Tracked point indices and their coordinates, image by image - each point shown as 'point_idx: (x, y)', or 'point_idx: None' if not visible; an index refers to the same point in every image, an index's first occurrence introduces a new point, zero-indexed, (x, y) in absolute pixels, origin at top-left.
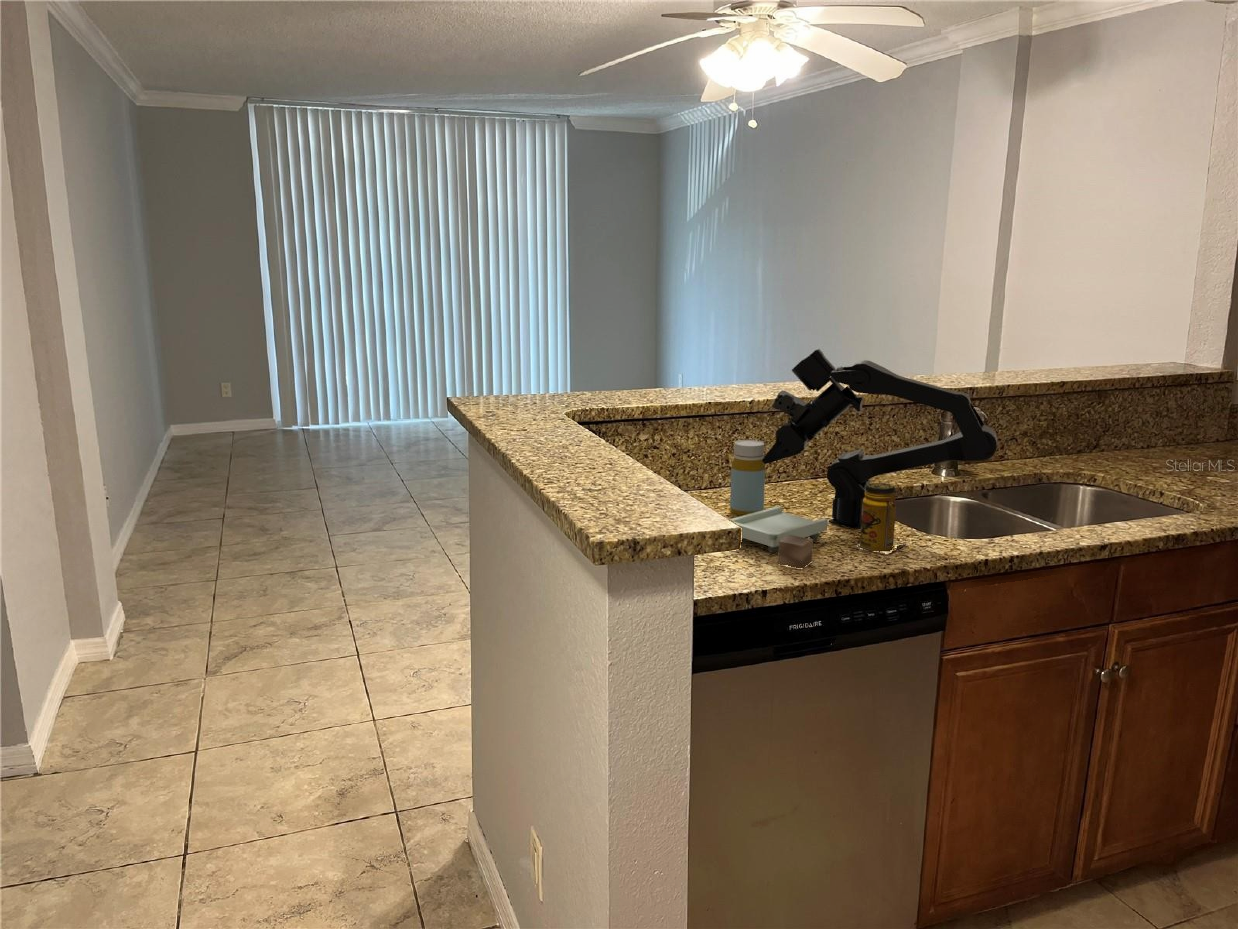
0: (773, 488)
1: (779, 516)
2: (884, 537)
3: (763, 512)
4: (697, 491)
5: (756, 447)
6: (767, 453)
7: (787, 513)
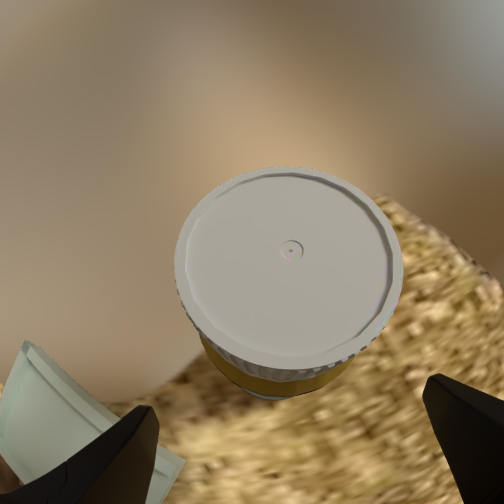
0: (492, 323)
1: None
2: None
3: (98, 427)
4: (381, 198)
5: (203, 335)
6: (94, 439)
7: (165, 488)
